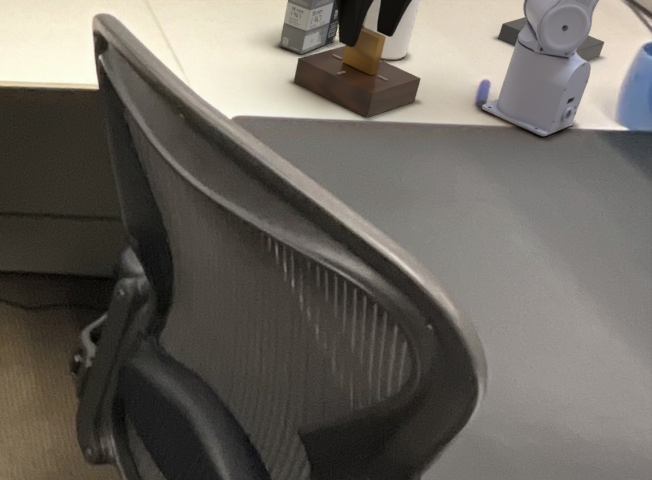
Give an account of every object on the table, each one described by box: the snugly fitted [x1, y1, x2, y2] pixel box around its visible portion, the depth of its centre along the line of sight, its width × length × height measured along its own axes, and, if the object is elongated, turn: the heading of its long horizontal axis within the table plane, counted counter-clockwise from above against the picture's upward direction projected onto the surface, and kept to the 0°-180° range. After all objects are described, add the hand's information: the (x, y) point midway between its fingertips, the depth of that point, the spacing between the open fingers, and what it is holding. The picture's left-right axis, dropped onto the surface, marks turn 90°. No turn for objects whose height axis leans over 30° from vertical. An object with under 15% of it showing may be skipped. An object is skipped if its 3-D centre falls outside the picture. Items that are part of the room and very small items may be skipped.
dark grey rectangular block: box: [497, 16, 605, 62], centre depth 161 cm, size 12×9×4 cm
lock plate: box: [293, 45, 421, 118], centre depth 139 cm, size 12×10×3 cm
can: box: [364, 0, 421, 61], centre depth 148 cm, size 6×6×12 cm
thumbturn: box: [343, 25, 386, 75], centre depth 137 cm, size 5×1×5 cm, turn 44°
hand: (365, 38), depth 136 cm, fingers open, 7 cm apart
